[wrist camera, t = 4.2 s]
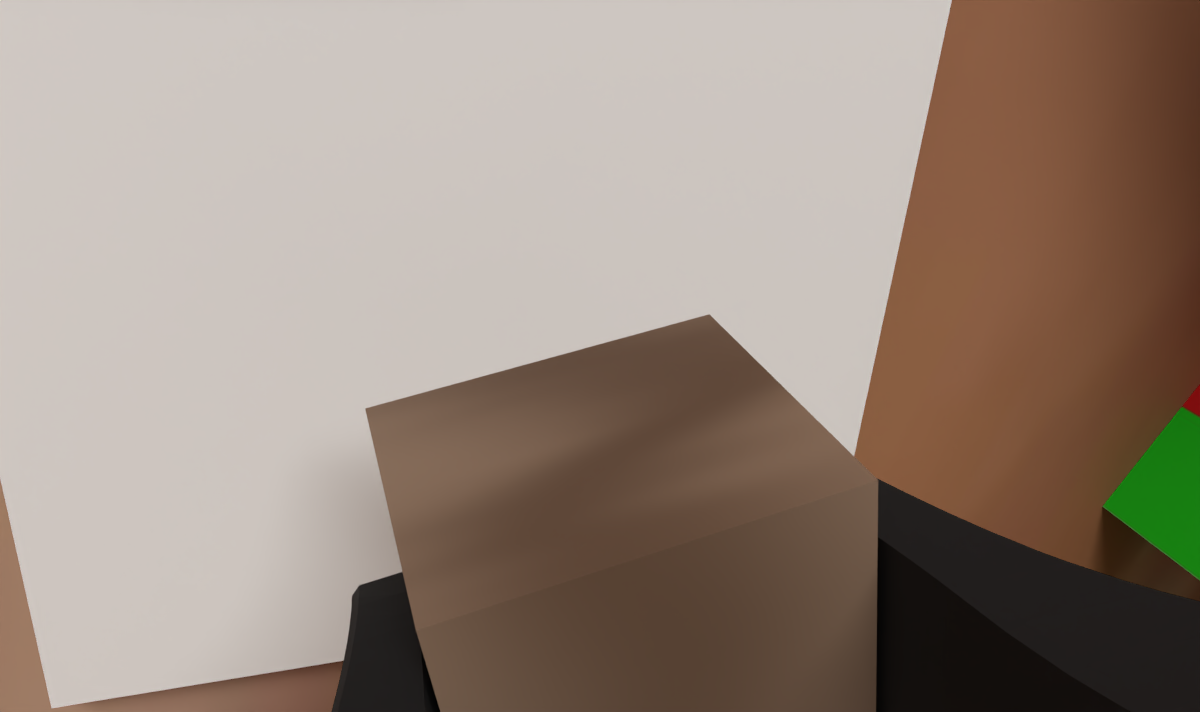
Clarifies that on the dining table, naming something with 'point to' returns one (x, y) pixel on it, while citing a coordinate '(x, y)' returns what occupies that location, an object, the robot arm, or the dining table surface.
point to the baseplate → (390, 267)
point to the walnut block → (633, 535)
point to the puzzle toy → (1167, 490)
